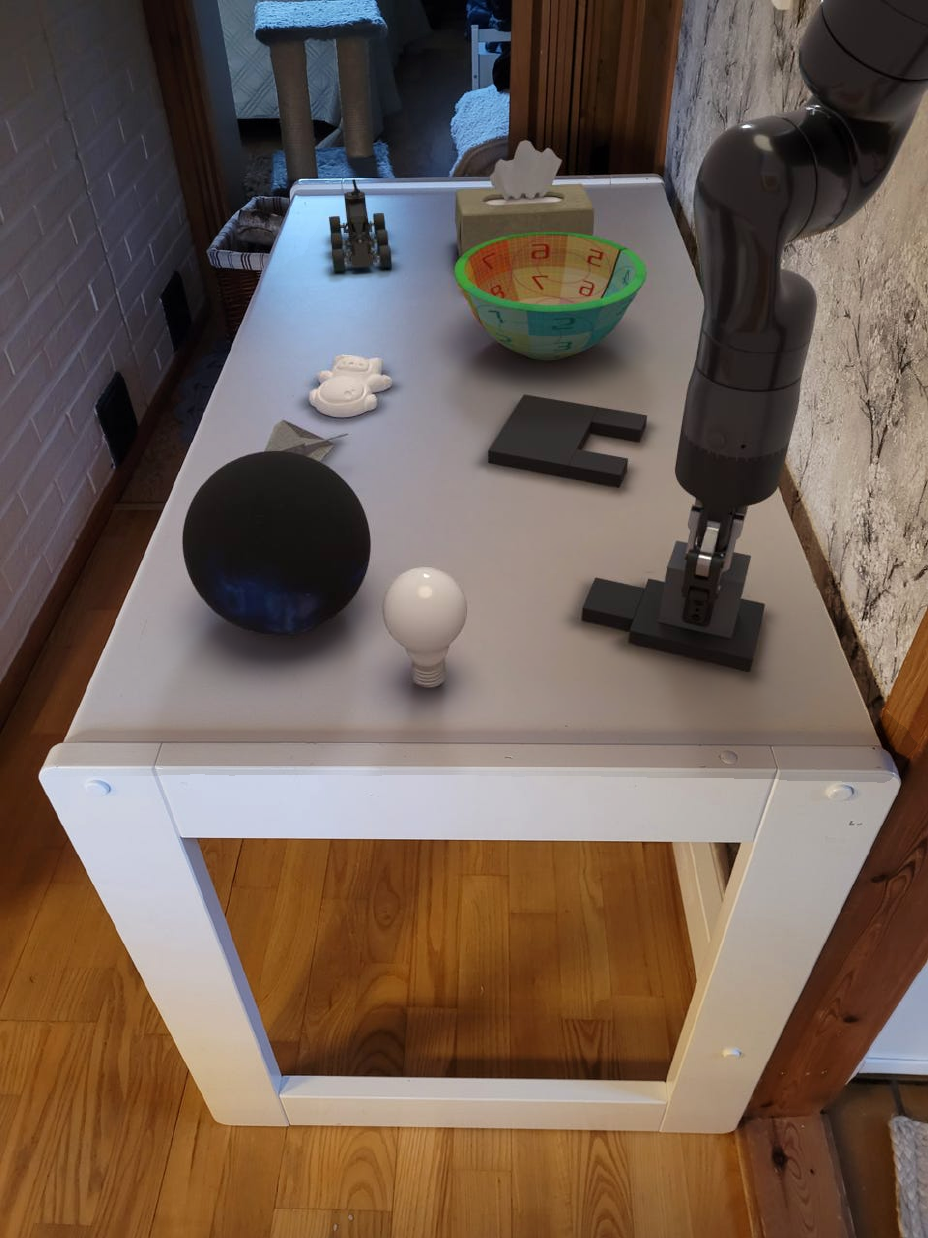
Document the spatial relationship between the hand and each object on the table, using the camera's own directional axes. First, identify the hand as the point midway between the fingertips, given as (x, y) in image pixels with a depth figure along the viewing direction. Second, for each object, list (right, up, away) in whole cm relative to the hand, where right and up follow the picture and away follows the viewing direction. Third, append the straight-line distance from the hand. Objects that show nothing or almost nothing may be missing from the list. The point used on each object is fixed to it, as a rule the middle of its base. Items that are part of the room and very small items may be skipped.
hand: (700, 604), depth 78 cm
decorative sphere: (-35, -1, +5) cm, 35 cm away
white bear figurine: (-33, +25, +33) cm, 53 cm away
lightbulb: (-22, -6, -2) cm, 23 cm away
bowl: (-9, +32, +39) cm, 52 cm away
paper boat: (-36, +14, +20) cm, 43 cm away
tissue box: (-11, +51, +60) cm, 80 cm away
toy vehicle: (-35, +53, +62) cm, 88 cm away
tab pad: (-2, -2, +2) cm, 4 cm away
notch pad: (-8, +17, +23) cm, 30 cm away
